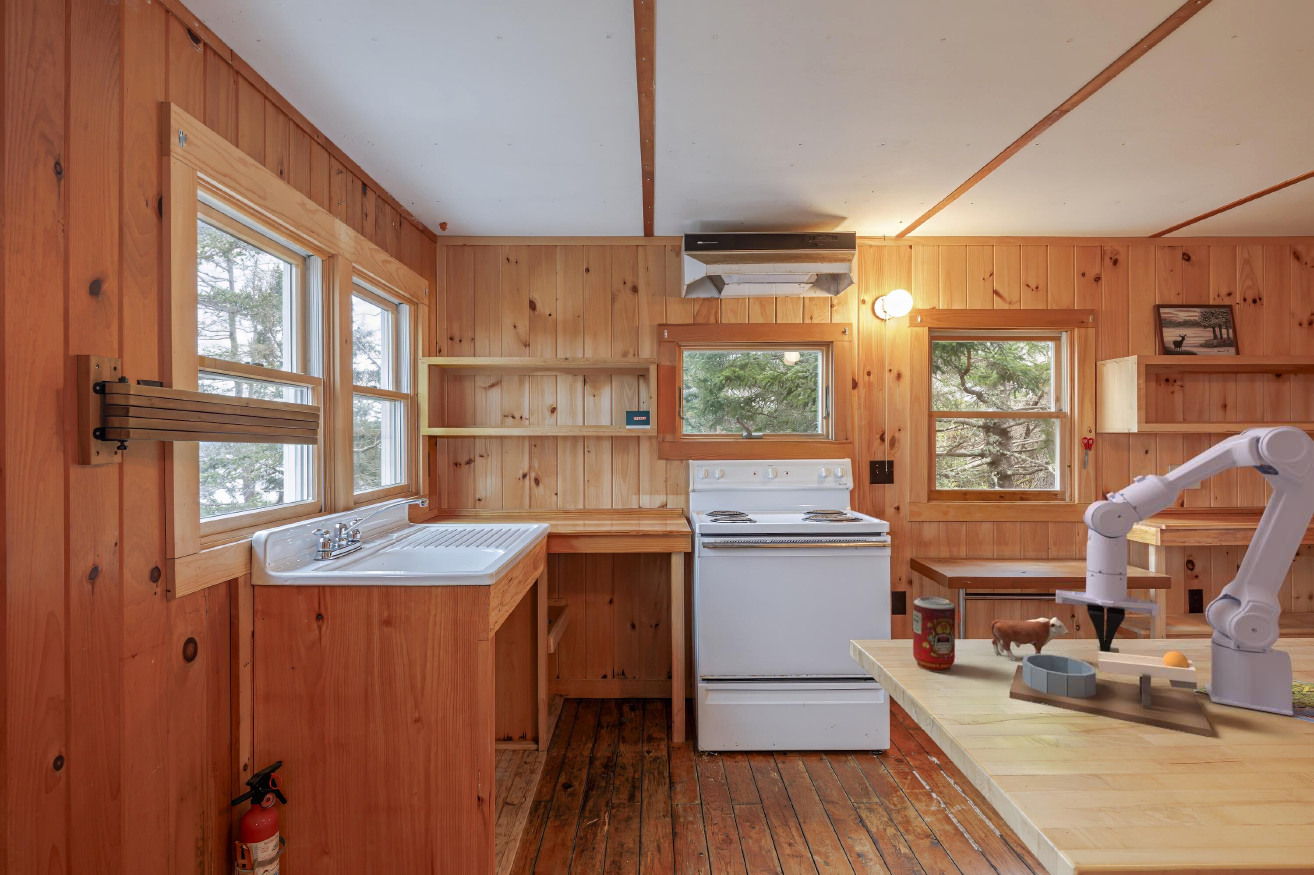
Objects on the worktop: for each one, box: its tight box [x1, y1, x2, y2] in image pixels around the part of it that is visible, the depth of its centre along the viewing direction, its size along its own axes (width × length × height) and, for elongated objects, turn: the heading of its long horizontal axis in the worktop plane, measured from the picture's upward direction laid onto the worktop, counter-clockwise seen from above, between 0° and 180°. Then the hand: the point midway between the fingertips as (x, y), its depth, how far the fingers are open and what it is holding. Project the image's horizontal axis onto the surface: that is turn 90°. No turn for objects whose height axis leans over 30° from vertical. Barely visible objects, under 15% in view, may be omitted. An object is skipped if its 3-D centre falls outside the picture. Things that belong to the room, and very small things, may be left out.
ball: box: [1162, 650, 1189, 668], centre depth 100 cm, size 3×3×3 cm
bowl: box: [1022, 653, 1097, 698], centre depth 108 cm, size 10×10×4 cm
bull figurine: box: [990, 617, 1070, 661], centre depth 124 cm, size 4×13×8 cm, turn 79°
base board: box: [1009, 664, 1212, 738], centre depth 105 cm, size 25×15×6 cm, turn 57°
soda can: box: [912, 595, 956, 673], centre depth 120 cm, size 7×7×12 cm
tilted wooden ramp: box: [1097, 645, 1198, 690], centre depth 105 cm, size 12×13×3 cm
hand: (1104, 650), depth 112 cm, fingers closed, pressing on tilted wooden ramp
